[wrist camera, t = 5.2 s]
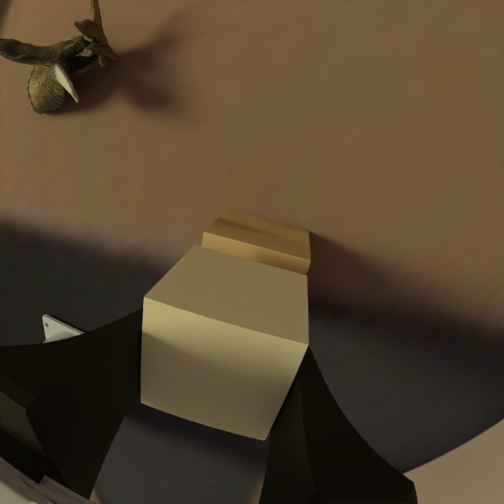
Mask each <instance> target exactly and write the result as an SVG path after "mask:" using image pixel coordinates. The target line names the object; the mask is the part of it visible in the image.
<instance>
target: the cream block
mask: <svg viewBox="0 0 504 504" xmlns="http://www.w3.org/2000/svg"><path fill="white" fill-rule="evenodd" d="M307 347H308V290H307V275H303V274H299V273H296V272H292V271H288V270H285V269H281V268H277V267H273V266H270V265H266V264H262V263H259V262H255V261H251V260H248V259H244V258H240V257H237V256H233V255H229V254H226V253H222V252H219V251H215V250H211V249H208V248H204V247H200V246H197V245H194V246H193V247H192V248H191V249H190V250H189V251H188V252H187V253H186V254H185V255H184V256H183V257H182V258H181V259H180V260H179V261H178V262H177V263H176V264H175V266H174V267H173V268H172V269H171V270H170V271H169V272H168V273H167V274H166V275H165V276H164V277H163V278H162V279H161V280H160V281H159V282H158V283H157V284H156V285H155V286H154V287H153V288H152V289H151V290H150V291H149V292H148V293H147V294H146V296H145V297H144V306H143V323H142V347H141V403H143V404H146V405H148V406H151V407H153V408H156V409H159V410H161V411H164V412H167V413H170V414H173V415H175V416H178V417H181V418H184V419H187V420H190V421H193V422H197V423H200V424H203V425H206V426H210V427H213V428H217V429H220V430H224V431H227V432H231V433H235V434H239V435H243V436H247V437H251V438H255V439H260V440H264V441H265V439H266V437H267V435H268V433H269V431H270V429H271V427H272V425H273V423H274V421H275V419H276V417H277V415H278V412H279V410H280V408H281V406H282V404H283V402H284V400H285V397H286V395H287V393H288V391H289V389H290V386H291V384H292V382H293V380H294V377H295V375H296V373H297V371H298V368H299V366H300V364H301V361H302V359H303V357H304V354H305V352H306V349H307Z"/></svg>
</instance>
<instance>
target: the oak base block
mask: <svg viewBox="0 0 504 504" xmlns="http://www.w3.org/2000/svg"><path fill="white" fill-rule="evenodd" d="M201 247H204V248H208V249H211V250H215V251H219V252H222V253H226V254H229V255H233V256H237V257H240V258H244V259H248V260H251V261H255V262H259V263H262V264H266V265H270V266H273V267H277V268H281V269H285V270H288V271H292V272H296V273H299V274H303V275H306V274H307V271H308V268H309V265H310V262H311V254H310V242H309V231H308V230H304V229H301V228H297V227H293V226H290V225H286V224H282V223H279V222H275V221H271V220H268V219H264V218H260V217H256V216H253V215H249V214H245V213H241V212H237V211H233V210H229V209H227V210H226V211H225V212H224V213H223V214H222V215H221V216H220V217H219V218H218V219H217V220H216V221H214V222H213V223H212V224H211V225H210V226H209V227H208V228H207V229H206V230H205V231H204V234H203V240H202V245H201Z"/></svg>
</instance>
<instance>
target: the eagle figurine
mask: <svg viewBox="0 0 504 504" xmlns="http://www.w3.org/2000/svg"><path fill="white" fill-rule="evenodd" d="M89 5H90V13H91V20H90V19H87V20H84V21H81V22H74V25H75V26H76V28H77V29H78V30H79V31H80V32H81V33H82V34H83V36H81V37H80V36H76V37H68V38H67V39H65V40H64V41H61V42H59V43H57V44H54V45H52V46H35V45H32V44H28V43H22V42H20V41H17V40H14V39H0V55H2V56H3V57H5V58H7V59H9V60H11V61H14V62H16V63H22V64H29V65H34V66H33V70H32V72H31V78H29V80H28V84H29V86H28V88H27V90H28V92H29V94H28V97H29V99H31V105H33V109H34V110H35V112H37V113H38V114H41V113H45V111H46V112H47V111H50V110H51V109H52V110H55V109H59V108H60V107H61V105H62V104H64V103H65V99H66V97H65V96H64V94H65V90H64V88H65V89H66V90H67V91H68V92H69V93H70V94H71V95H72V96H73V98H74V99H75V101H76V102H79V98H78V95H77V93H76V91H75V89H74V86H73V84H72V82H71V79H70V76H71V75H72V74H74V73H75V72H76V71H78V70H81V69H83V68H85V67H86V66H88V65H89V64H92V63H93V62H95V61H97V60H98V59H99V64H100V65H101V66H102V67H105V66H106V64H107V62H106V60H105V59H112V60H115V61H118V60H119V56H118V55H117V54H115V53H114V52H113V51H112V49H111V48H110V46H109V45H108V42H107V39H106V37H105V35H104V32H103V29H102V22H101V15H100V9H99V3H98V0H89ZM79 37H80V38H79ZM84 48H85V49H84ZM83 49H84V51H83ZM82 51H83V54H82V56H76V54H79V53H80V52H82ZM104 58H105V59H104Z"/></svg>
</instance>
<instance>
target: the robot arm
mask: <svg viewBox="0 0 504 504" xmlns="http://www.w3.org/2000/svg"><path fill="white" fill-rule="evenodd" d="M142 323H143V308H141V309H139V310H137V311H135V312H133V313H131V314H129V315H127V316H125V317H123V318H121V319H118V320H116V321H114V322H112V323H109V324H107V325H104V326H102V327H99V328H97V329H95V330H92V331H89V332H86V333H84V332H82V331H80V330H78V329H76V328H73V327H71V326H69V325H67V324H65V323H63V322H61V321H59V320H57V319H55V318H53V317H51V316H49V315H47V314H46V315H44V316H43V324H44V330H45V335H46V341H45V342H43V343H40V344H31V345H19V346H0V504H96V503H94V502H92V501H90V500H89V498H90V495H91V493H92V490H93V487H94V484H95V482H96V479H97V476H98V474H99V471H100V469H101V466H102V464H103V462H104V459H105V457H106V454H107V452H108V450H109V448H110V446H111V443H112V441H113V439H114V437H115V435H116V433H117V431H118V429H119V427H120V425H121V423H122V421H123V419H124V417H125V415H126V414H127V412H128V410H129V409H130V407H131V406H132V404H133V403H134V401H135V400H136V398H137V397H138V395H139V394H140V392H141V347H142ZM259 504H418V503H417V495H416V490H415V486H414V482H412V481H411V480H409V479H408V478H407V477H405V476H404V475H403V474H401V473H400V472H399V471H397V470H396V469H395V468H393V467H392V466H391V465H390V464H388V463H387V462H386V461H385V460H384V459H383V458H382V457H381V456H380V455H378V454H377V453H376V452H375V451H374V450H373V449H372V448H371V447H370V446H369V445H368V443H367V442H366V441H365V440H364V439H363V438H362V437H361V436H360V435H359V433H358V432H357V431H356V430H355V428H354V427H353V426H352V425H351V423H350V422H349V421H348V419H347V418H346V416H345V415H344V414H343V412H342V411H341V409H340V408H339V406H338V404H337V403H336V401H335V399H334V397H333V396H332V394H331V392H330V390H329V388H328V386H327V384H326V382H325V380H324V378H323V376H322V374H321V372H320V370H319V368H318V365H317V363H316V361H315V358H314V356H313V354H312V351H311V349H310V347H309V346H308V347H307V349H306V352H305V354H304V357H303V359H302V361H301V364H300V366H299V368H298V371H297V373H296V375H295V377H294V380H293V382H292V384H291V386H290V389H289V391H288V393H287V395H286V397H285V400H284V402H283V404H282V406H281V408H280V410H279V412H278V415H277V417H276V419H275V421H274V423H273V425H272V427H271V432H270V445H269V456H268V463H267V468H266V473H265V478H264V483H263V487H262V492H261V496H260V500H259Z"/></svg>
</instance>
